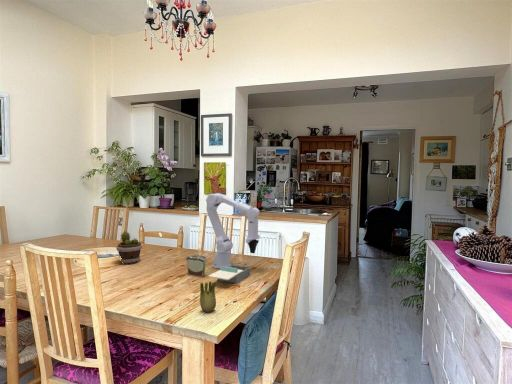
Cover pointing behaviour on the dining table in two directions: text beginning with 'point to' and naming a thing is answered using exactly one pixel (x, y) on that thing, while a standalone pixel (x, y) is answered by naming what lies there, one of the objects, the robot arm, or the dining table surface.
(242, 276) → the grey sliding-lid box
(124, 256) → the flowerpot
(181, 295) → the dining table surface
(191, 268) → the food container
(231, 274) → the lid
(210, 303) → the fennel bulb
